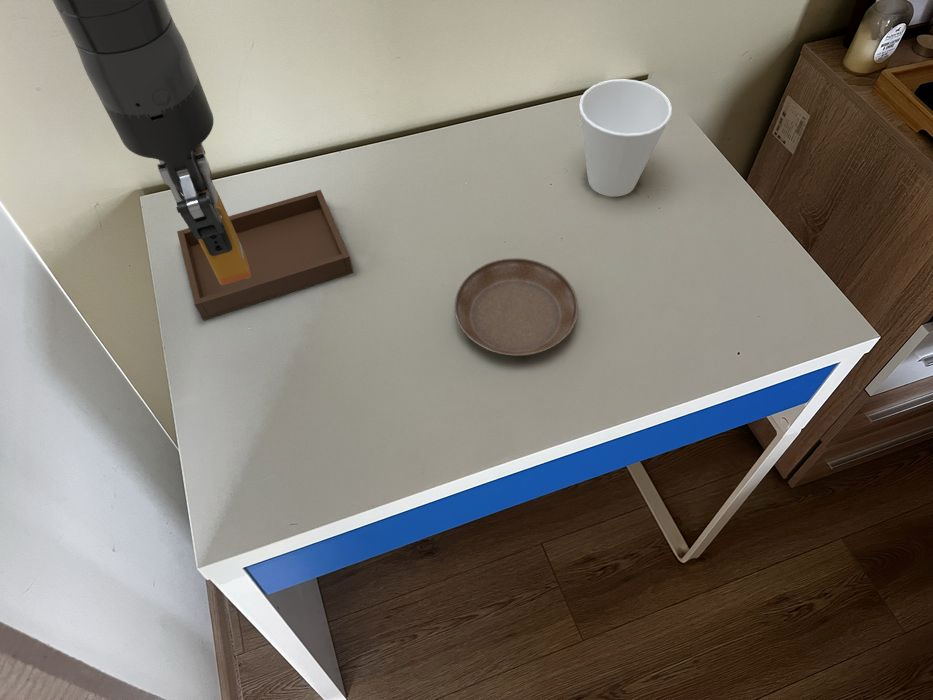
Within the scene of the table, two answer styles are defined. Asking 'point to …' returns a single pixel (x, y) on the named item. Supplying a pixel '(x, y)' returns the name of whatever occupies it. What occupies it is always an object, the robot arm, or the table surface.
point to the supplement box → (228, 254)
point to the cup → (621, 132)
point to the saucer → (516, 307)
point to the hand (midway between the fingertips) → (217, 237)
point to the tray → (270, 255)
